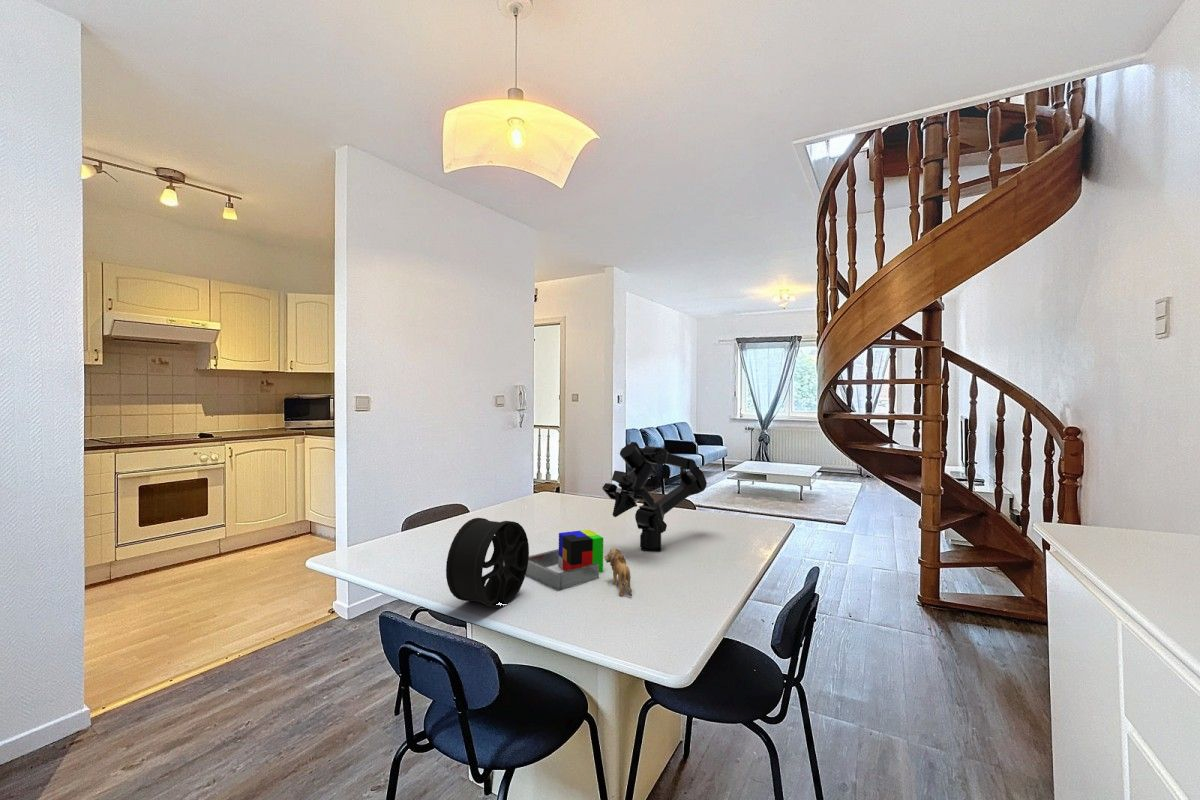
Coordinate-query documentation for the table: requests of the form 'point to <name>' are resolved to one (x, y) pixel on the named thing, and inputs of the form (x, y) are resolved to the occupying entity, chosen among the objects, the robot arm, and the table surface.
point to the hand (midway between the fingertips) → (613, 516)
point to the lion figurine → (619, 569)
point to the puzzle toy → (580, 549)
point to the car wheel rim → (470, 561)
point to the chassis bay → (556, 579)
